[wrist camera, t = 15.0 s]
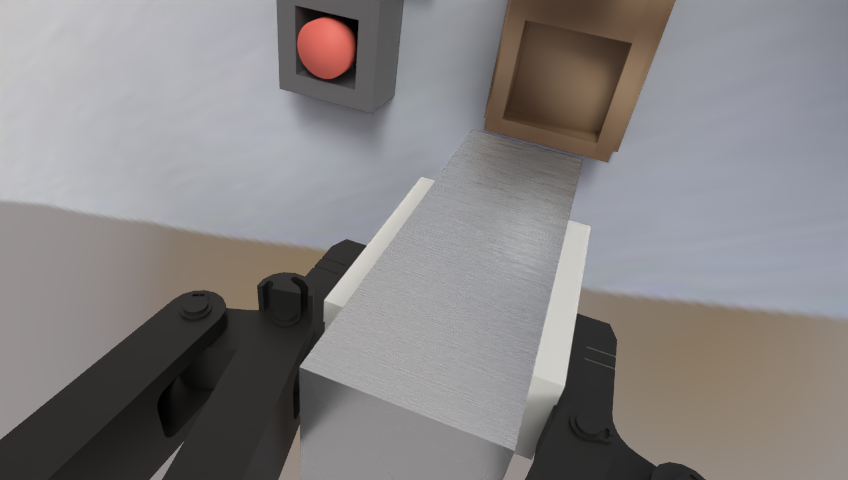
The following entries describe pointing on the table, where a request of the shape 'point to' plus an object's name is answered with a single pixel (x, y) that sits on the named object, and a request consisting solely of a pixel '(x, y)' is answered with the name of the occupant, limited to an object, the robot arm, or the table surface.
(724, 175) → the table surface
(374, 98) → the button housing
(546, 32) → the wooden tray
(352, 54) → the button
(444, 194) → the block
